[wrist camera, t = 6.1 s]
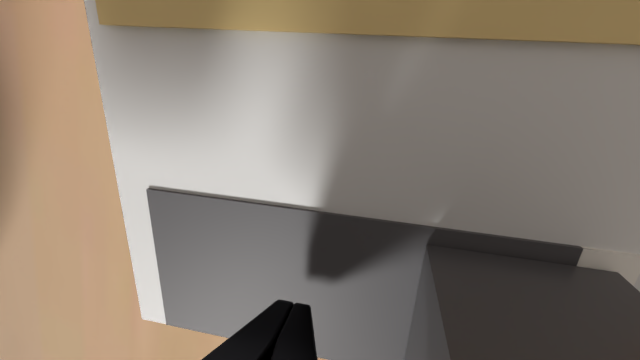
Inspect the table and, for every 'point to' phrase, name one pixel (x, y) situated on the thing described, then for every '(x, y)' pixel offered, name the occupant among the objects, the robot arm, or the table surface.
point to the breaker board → (363, 150)
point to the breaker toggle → (520, 310)
